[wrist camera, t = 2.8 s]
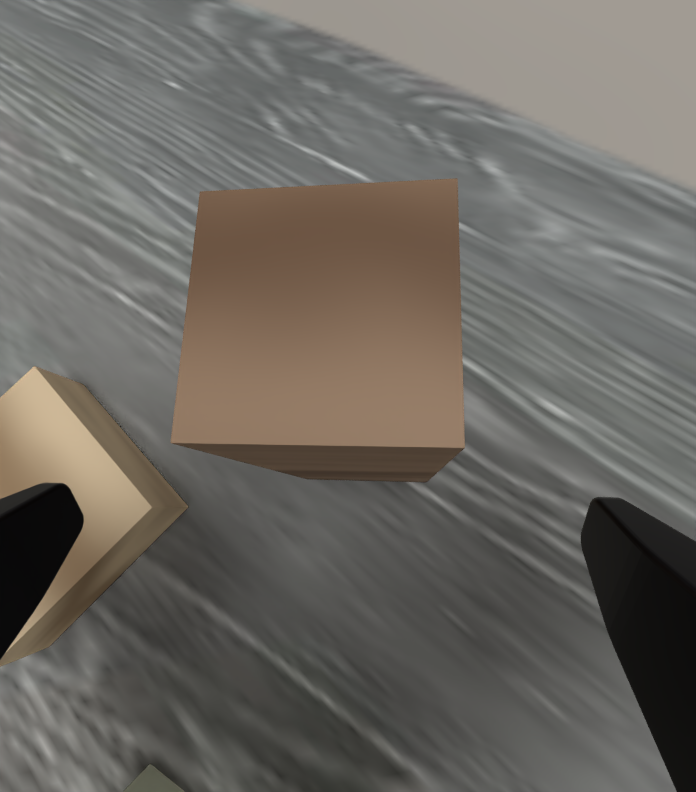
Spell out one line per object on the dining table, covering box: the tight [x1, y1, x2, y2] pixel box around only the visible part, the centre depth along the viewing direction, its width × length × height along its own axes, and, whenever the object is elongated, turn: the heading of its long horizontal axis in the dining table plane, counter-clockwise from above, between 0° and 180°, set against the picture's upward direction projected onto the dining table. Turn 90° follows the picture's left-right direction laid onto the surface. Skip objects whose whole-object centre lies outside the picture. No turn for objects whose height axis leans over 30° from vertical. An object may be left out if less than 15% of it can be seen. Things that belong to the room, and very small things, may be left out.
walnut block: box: [171, 179, 465, 482], centre depth 14 cm, size 5×5×12 cm
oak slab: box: [0, 366, 188, 667], centre depth 19 cm, size 8×8×3 cm
